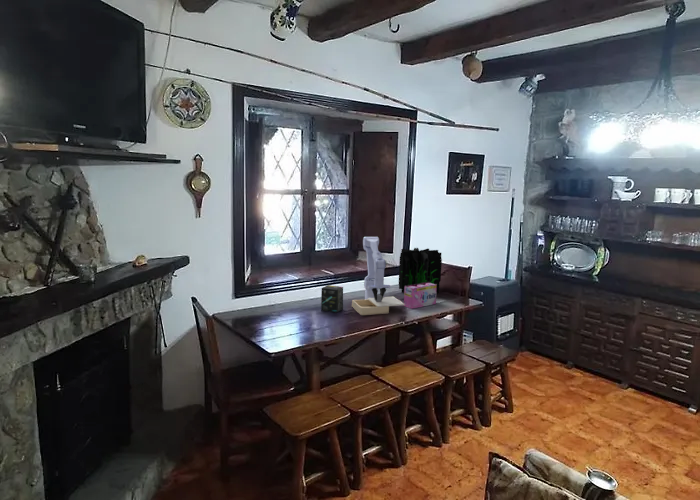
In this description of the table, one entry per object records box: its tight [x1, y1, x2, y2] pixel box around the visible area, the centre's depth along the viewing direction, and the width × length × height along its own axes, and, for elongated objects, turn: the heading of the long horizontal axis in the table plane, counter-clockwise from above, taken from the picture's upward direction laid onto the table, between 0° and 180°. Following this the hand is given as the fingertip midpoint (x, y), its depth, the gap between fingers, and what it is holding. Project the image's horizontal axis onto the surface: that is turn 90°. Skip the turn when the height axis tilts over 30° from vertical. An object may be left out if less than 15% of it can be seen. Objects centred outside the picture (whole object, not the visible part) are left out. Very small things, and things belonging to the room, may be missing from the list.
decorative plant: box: [398, 247, 443, 294], centre depth 343 cm, size 29×30×30 cm
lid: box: [368, 294, 405, 307], centre depth 295 cm, size 18×18×5 cm
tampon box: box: [320, 284, 344, 314], centre depth 290 cm, size 11×9×15 cm
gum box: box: [403, 282, 437, 309], centre depth 307 cm, size 24×8×14 cm, turn 126°
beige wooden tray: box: [351, 298, 390, 316], centre depth 293 cm, size 18×18×4 cm
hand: (378, 299), depth 294 cm, fingers closed on lid, 3 cm apart
